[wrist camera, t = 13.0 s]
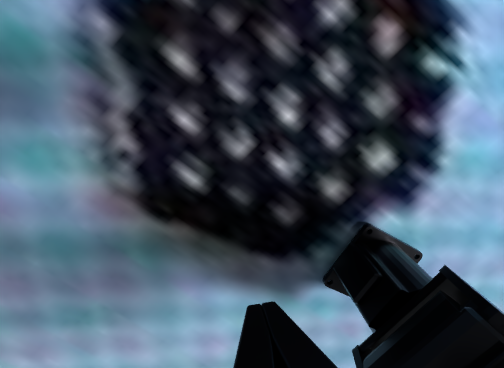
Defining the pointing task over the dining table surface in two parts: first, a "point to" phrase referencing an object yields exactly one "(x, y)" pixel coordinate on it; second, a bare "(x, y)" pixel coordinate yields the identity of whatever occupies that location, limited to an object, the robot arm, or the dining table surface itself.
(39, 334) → the dining table surface
